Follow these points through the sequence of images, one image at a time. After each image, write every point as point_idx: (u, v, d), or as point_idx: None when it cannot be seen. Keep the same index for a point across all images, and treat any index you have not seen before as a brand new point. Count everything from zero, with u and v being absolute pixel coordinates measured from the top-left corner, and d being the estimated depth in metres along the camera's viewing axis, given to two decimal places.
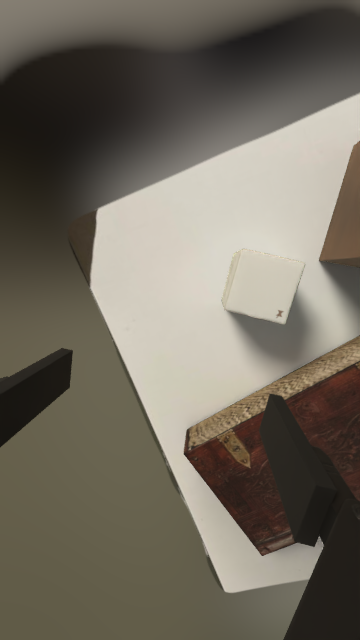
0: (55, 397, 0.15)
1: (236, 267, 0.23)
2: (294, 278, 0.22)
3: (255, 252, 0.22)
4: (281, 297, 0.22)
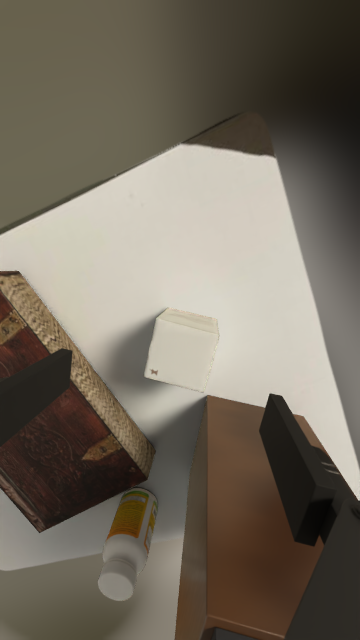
0: (55, 397, 0.15)
1: (200, 329, 0.22)
2: (189, 383, 0.23)
3: (215, 347, 0.22)
4: (170, 372, 0.23)
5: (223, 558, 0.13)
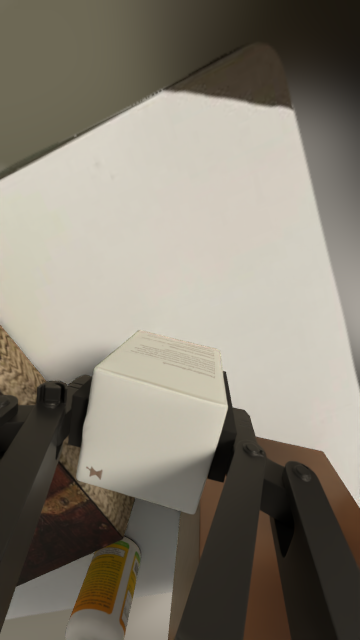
0: None
1: (187, 392, 0.10)
2: (165, 498, 0.11)
3: (218, 431, 0.10)
4: (128, 475, 0.11)
5: None
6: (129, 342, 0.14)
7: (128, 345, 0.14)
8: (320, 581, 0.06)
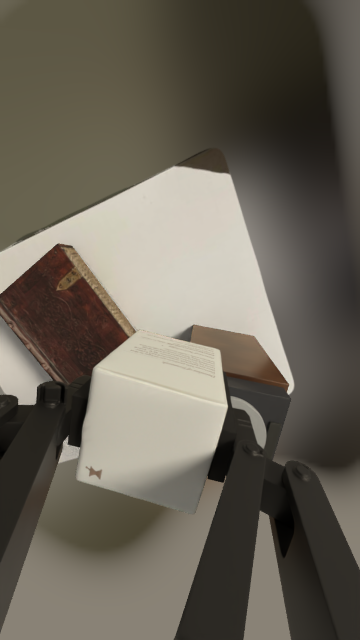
0: None
1: (187, 392, 0.10)
2: (165, 497, 0.11)
3: (218, 431, 0.10)
4: (127, 475, 0.11)
5: None
6: (129, 342, 0.14)
7: (128, 345, 0.14)
8: (320, 581, 0.06)
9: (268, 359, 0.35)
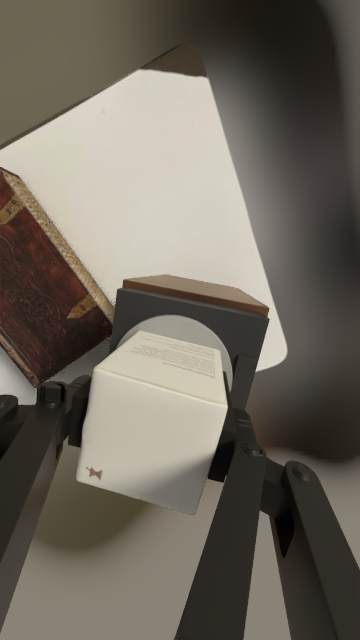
0: None
1: (187, 393, 0.10)
2: (165, 498, 0.11)
3: (218, 432, 0.10)
4: (127, 476, 0.11)
5: (142, 280, 0.22)
6: (129, 342, 0.14)
7: (128, 345, 0.14)
8: (320, 581, 0.06)
9: (248, 296, 0.26)
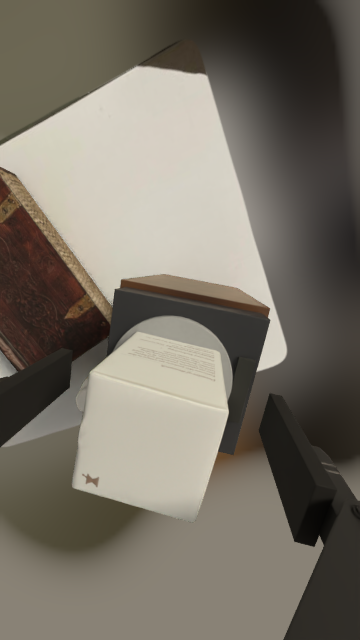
0: (55, 397, 0.15)
1: (187, 397, 0.10)
2: (164, 506, 0.11)
3: (219, 437, 0.10)
4: (125, 483, 0.11)
5: (140, 280, 0.22)
6: (127, 344, 0.14)
7: (125, 347, 0.13)
8: None
9: (248, 296, 0.26)
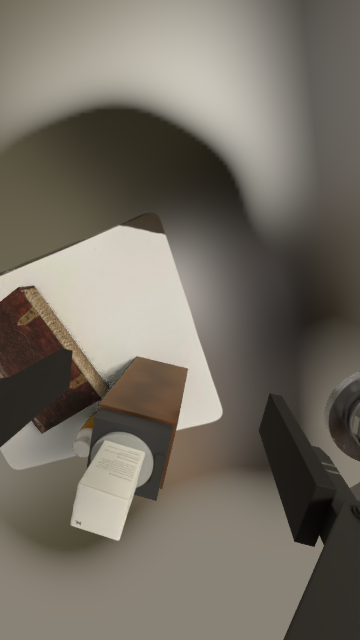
0: (55, 397, 0.15)
1: (114, 494, 0.26)
2: (106, 533, 0.27)
3: (126, 509, 0.26)
4: (91, 524, 0.27)
5: (111, 396, 0.38)
6: (96, 457, 0.30)
7: (95, 460, 0.30)
8: None
9: (180, 396, 0.42)
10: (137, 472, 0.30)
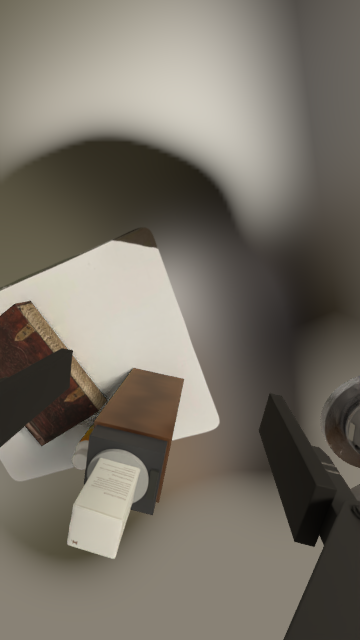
0: (55, 397, 0.15)
1: (108, 514, 0.27)
2: (102, 552, 0.28)
3: (120, 529, 0.27)
4: (87, 543, 0.28)
5: (106, 412, 0.39)
6: (92, 476, 0.31)
7: (91, 479, 0.30)
8: None
9: (175, 409, 0.43)
10: (132, 490, 0.30)
